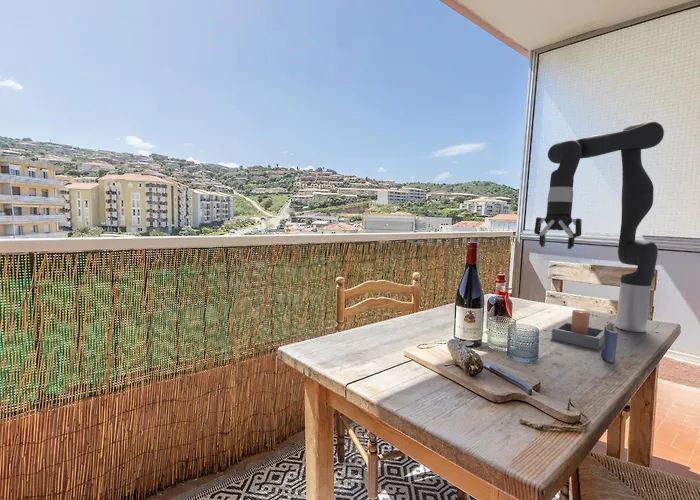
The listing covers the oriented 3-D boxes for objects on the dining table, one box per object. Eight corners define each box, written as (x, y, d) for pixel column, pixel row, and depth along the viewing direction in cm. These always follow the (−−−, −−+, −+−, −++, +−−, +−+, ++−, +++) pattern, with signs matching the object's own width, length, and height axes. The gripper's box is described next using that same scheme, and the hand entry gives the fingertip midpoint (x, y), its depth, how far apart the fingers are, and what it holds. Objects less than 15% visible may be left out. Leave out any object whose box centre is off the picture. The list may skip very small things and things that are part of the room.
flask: (615, 364, 106) (619, 327, 105) (603, 362, 108) (606, 325, 107) (611, 354, 115) (614, 319, 114) (599, 352, 116) (603, 318, 115)
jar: (571, 334, 131) (574, 309, 130) (588, 338, 127) (591, 312, 127) (568, 338, 127) (570, 311, 126) (585, 341, 124) (588, 314, 123)
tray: (562, 330, 137) (563, 321, 136) (607, 340, 128) (608, 330, 127) (551, 338, 127) (552, 328, 127) (598, 349, 118) (599, 338, 118)
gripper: (586, 201, 128) (581, 249, 130) (541, 201, 138) (537, 245, 140) (580, 200, 123) (576, 250, 124) (534, 200, 133) (530, 246, 134)
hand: (555, 247), depth 132 cm, fingers open, 8 cm apart
